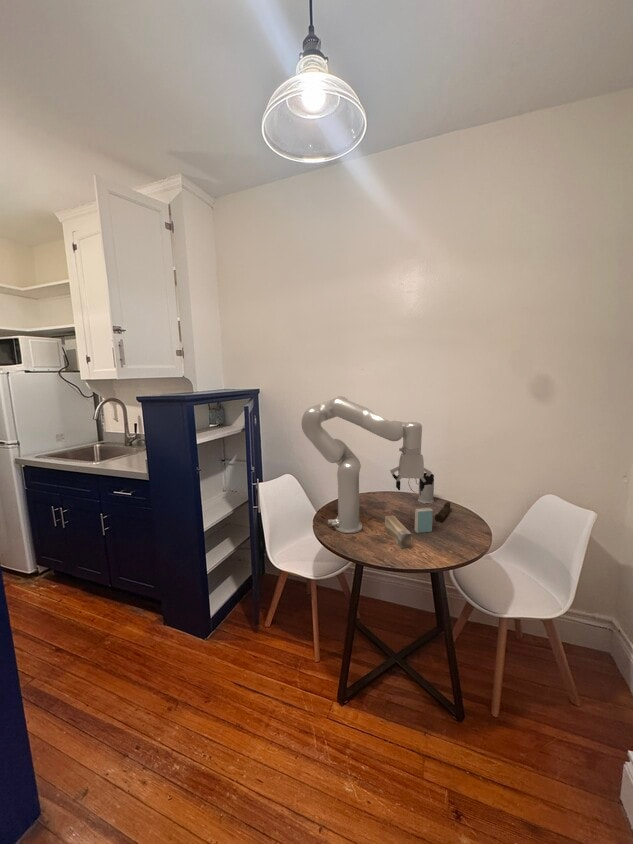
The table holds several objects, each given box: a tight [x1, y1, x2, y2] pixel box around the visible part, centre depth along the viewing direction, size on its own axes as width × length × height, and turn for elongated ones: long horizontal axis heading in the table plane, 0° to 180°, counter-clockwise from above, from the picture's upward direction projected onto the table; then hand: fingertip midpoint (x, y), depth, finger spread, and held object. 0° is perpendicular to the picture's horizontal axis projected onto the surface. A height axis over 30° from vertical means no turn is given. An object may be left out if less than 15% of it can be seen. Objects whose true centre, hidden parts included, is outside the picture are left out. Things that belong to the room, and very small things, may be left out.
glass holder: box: [407, 472, 435, 504], centre depth 178 cm, size 9×14×15 cm, turn 86°
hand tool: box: [434, 501, 451, 523], centre depth 159 cm, size 19×4×5 cm, turn 141°
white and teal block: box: [414, 507, 434, 534], centre depth 143 cm, size 7×3×10 cm, turn 99°
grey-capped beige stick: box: [384, 515, 412, 550], centre depth 137 cm, size 4×18×6 cm, turn 9°
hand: (409, 489), depth 139 cm, fingers open, 9 cm apart
